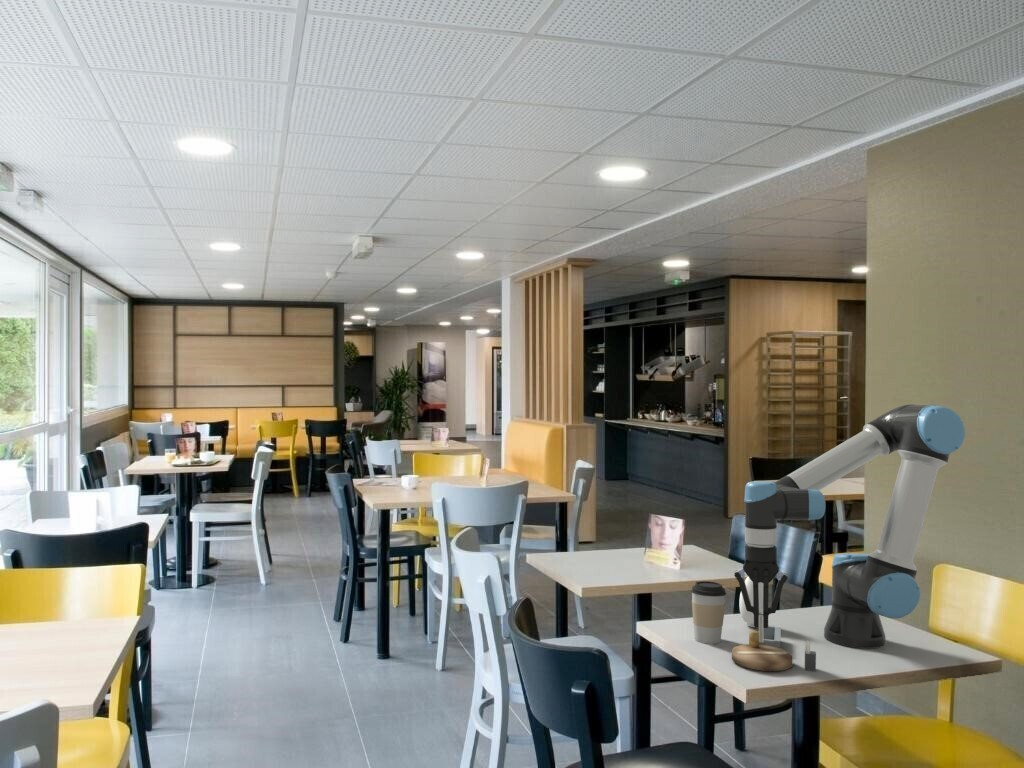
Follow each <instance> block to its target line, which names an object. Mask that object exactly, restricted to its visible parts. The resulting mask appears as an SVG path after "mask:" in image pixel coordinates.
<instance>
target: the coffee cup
mask: <svg viewBox="0 0 1024 768" xmlns="http://www.w3.org/2000/svg"><path fill="white" fill-rule="evenodd" d="M691 588H692V589H691V590H690V591H691V597H692V598H691V609H692V622H693V623H692V624H693V634H694V636H693V637H694V640H695V641H696V642H699V643H703V644H712V645H713V644H718V643H721V642H720V641H722V632H723V631H722V630H723V625H724V619H725V618H724V617H725V610H726V609H725V608H726V595H727V591H726V589H725V588H724V587H723V585H722V584H721V583H719V582H716V581H715V582H714V581H708V580H707V581H706V580H705V581H704V580H703V581H696V582H695V584H694V585H692V587H691Z"/></svg>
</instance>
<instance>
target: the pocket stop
mask: <svg viewBox="0 0 1024 768" xmlns="http://www.w3.org/2000/svg"><path fill="white" fill-rule="evenodd" d="M763 629H764V640H763V642H759V645H766V646H772V647H776V648H780V649H781V645H782V644H781V639H782V637H781V634H782V633H781V632H782V631H781V629H782V628H781V626H780V627H778V626H775V625H768V628H763Z"/></svg>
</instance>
